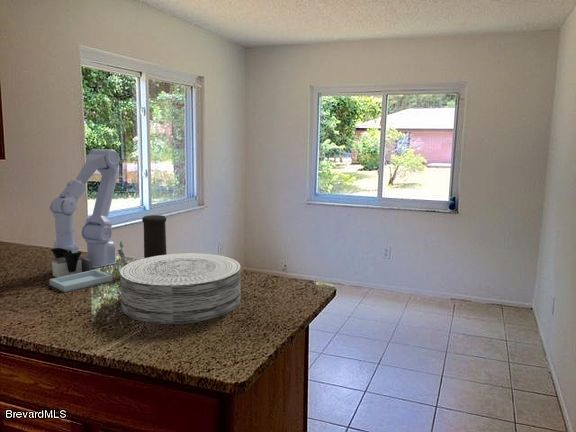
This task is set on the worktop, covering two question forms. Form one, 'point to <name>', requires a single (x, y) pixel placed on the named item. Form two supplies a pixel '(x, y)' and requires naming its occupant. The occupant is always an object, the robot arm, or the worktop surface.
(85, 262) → the bay
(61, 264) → the block
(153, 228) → the container
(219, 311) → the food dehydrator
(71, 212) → the robot arm
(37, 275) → the worktop surface
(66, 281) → the tray
